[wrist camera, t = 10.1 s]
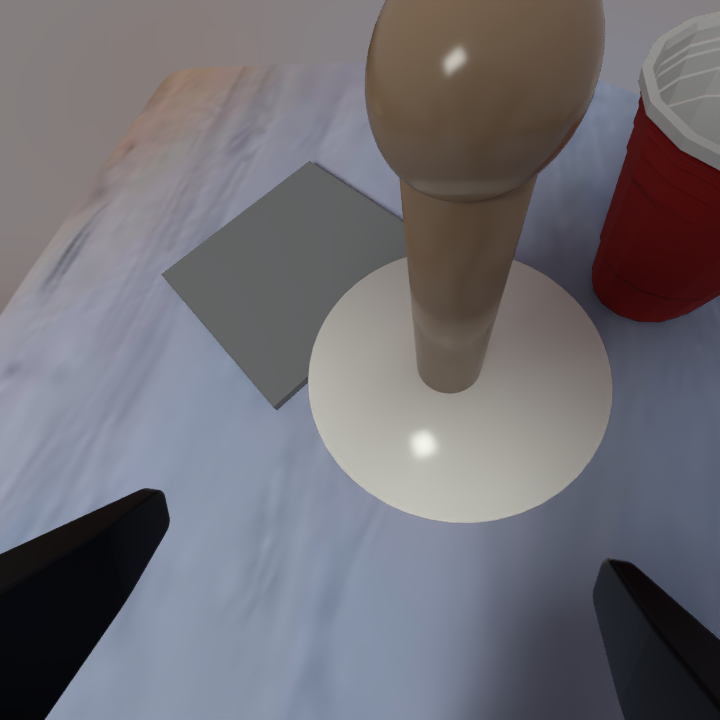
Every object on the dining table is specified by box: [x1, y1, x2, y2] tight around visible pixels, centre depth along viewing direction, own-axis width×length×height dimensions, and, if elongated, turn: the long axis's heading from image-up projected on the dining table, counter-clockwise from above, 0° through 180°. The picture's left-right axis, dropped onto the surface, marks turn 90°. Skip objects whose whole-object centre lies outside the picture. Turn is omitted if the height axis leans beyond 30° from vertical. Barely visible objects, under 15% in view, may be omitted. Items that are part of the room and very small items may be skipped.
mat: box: [161, 161, 407, 410], centre depth 28 cm, size 16×16×1 cm
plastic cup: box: [592, 11, 720, 322], centre depth 18 cm, size 11×11×12 cm
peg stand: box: [308, 0, 613, 523], centre depth 12 cm, size 14×14×16 cm
